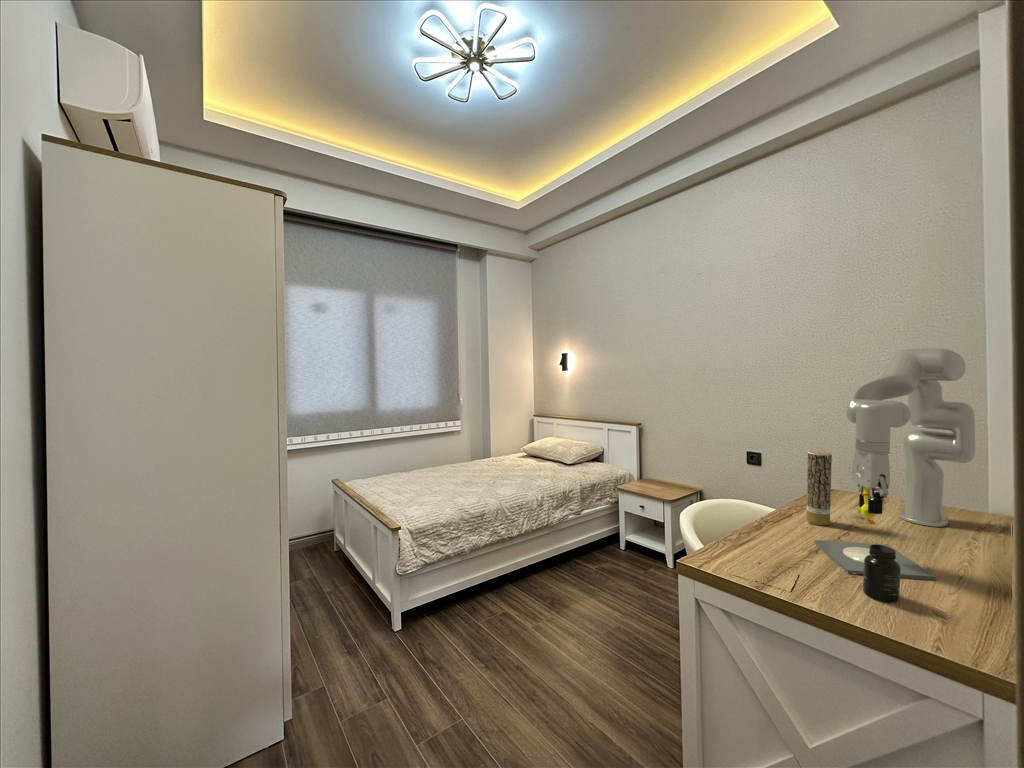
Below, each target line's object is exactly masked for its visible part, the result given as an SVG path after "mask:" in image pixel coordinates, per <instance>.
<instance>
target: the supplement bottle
mask: <svg viewBox="0 0 1024 768" xmlns="http://www.w3.org/2000/svg"><path fill="white" fill-rule="evenodd" d="M874 544H875V545H871V546H870V551H869V554H870V555H868V556H866V557H865V559H864V575H863V579H862V580H863V582H862V584H863V585H862V590H863V593H864V594H865V595H866V596H867V597H869V598H870V597H871V599H872V598H873V600H874V601H877V600H878V602H881V603H885V602H886V604H895V603H897V602H899V600H900V595H901V594H900V591H901V589H900V588H901V578H900V571H901V568H900V565H899V563H898V562H897V561H895V559H896V556H895V554H896V552H895V550H896V549H895V548H894V549H895V550H894V549H892V548H893V547H892V548H890V547H887V546H883V545H876V544H877V543H874Z"/></svg>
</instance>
